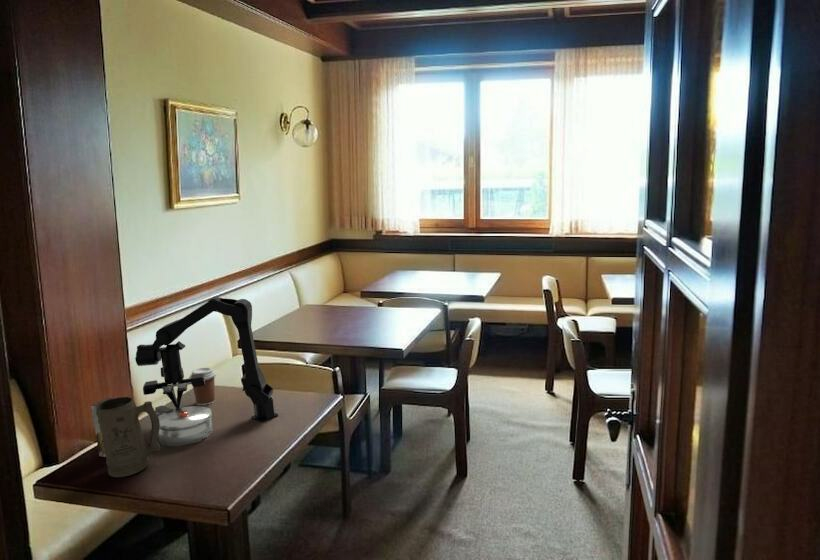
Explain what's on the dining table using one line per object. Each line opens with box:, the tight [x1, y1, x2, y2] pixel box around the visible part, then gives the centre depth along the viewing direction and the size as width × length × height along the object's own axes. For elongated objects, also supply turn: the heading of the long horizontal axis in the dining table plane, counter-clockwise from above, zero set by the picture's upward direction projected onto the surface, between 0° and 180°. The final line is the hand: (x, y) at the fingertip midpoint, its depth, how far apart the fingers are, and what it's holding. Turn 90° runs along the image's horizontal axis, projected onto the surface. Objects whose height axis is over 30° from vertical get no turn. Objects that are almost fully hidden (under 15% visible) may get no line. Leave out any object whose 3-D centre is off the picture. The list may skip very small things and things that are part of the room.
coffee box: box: [90, 397, 114, 458], centre depth 189 cm, size 9×6×16 cm
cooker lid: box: [154, 404, 213, 430], centre depth 202 cm, size 23×17×2 cm
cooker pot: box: [157, 413, 214, 447], centre depth 203 cm, size 22×16×5 cm
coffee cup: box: [188, 367, 217, 406], centre depth 230 cm, size 9×9×12 cm
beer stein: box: [96, 396, 161, 478], centre depth 179 cm, size 15×11×20 cm
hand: (178, 408), depth 211 cm, fingers closed
